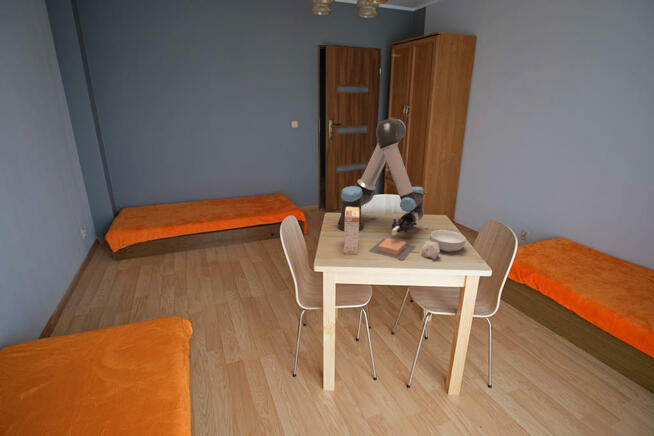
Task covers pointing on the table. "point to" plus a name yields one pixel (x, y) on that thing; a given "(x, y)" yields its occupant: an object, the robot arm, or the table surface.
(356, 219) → the coffeecake box
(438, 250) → the die
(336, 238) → the table surface
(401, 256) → the mat
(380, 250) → the salmon orange block
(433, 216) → the table surface
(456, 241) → the cereal bowl
